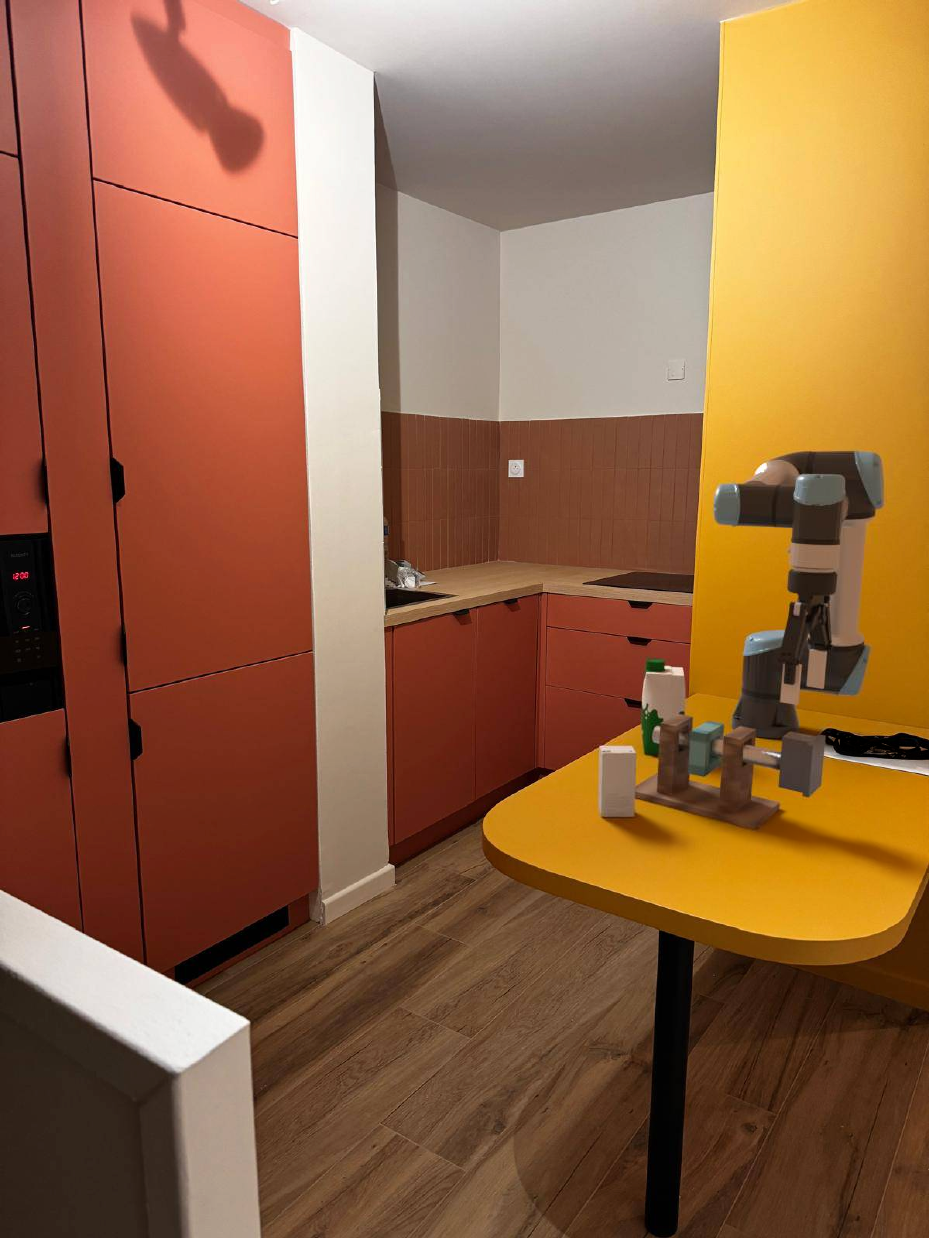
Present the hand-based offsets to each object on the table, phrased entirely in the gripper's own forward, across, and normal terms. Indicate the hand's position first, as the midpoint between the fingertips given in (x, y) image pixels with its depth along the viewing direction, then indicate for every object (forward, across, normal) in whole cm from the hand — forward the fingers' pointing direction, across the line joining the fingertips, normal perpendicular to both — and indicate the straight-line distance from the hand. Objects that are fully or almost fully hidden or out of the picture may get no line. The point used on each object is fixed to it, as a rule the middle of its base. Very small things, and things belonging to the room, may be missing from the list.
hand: (802, 695), depth 146 cm
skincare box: (+24, +15, -26) cm, 38 cm away
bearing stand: (+23, 0, -16) cm, 28 cm away
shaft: (+16, 0, -12) cm, 20 cm away
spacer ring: (+17, 0, -16) cm, 23 cm away
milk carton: (+23, -22, -35) cm, 48 cm away
